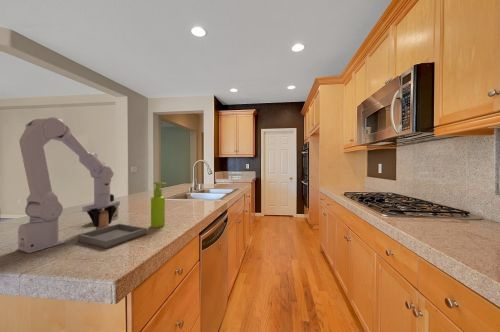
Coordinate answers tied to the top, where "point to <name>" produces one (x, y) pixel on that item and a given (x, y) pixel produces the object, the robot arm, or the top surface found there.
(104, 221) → the spice jar
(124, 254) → the top surface
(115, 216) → the container
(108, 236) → the tray
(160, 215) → the soap dispenser
